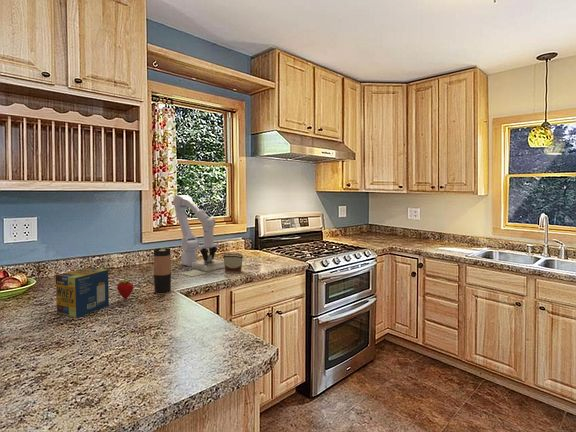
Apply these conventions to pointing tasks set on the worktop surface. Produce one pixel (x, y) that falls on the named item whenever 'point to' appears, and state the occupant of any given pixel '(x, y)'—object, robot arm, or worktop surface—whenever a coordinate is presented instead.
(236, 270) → the food container
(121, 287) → the strawberry
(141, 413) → the worktop surface
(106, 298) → the protein box
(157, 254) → the travel mug
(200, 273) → the mat
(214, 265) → the housing
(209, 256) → the grey cylinder
